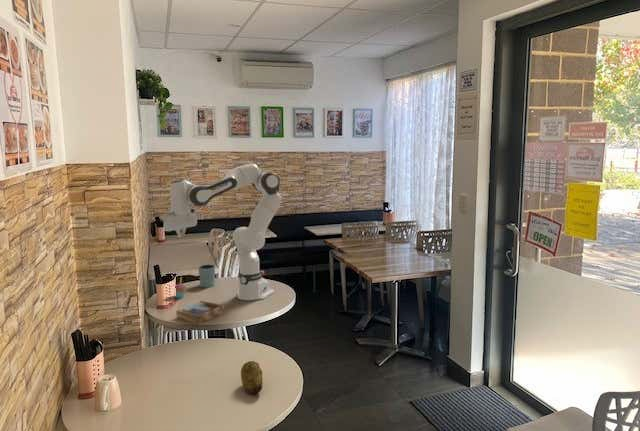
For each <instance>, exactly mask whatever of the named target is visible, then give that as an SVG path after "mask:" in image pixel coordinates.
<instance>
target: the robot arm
mask: <svg viewBox="0 0 640 431" xmlns="http://www.w3.org/2000/svg"><path fill="white" fill-rule="evenodd" d="M280 183H281V179H280V177H279V175H278V174H276V173H275V172H272V171H267V172H262V171H260V168H259V166H258V165H257V164H255V163H247V164H242V165H239V166H236V167H234V168H232V169H230V170H228V171H226V173H225V175H224V177H223V179H221V180H219V181H217V182H214V183H212V184H210V185H207V186H204V185H203V186H200V185H198V184H194V183H192V182H189V181H188V180H186V179H175V180H173V181H172V182H170V185H169V198H170V212H167V213H165V214H164V215H163V230H164V232H172V231H175V232H176V234H177V237H178V238H185V234H186V230H187V229H188V228H193V227H196V226H197V225H198V217H197V214H196V213H197V209H196V208H193V207H190V206H189V203H192V204H193V205H195V206H196V207H197V206H198V207H204V206H207V204H208V203H210V201H212V200H213V199H214V198H215V197H217V196H220V195H221V194H224V193H226V192H228V191H233V190H237V189H240V188H243V187H246V186H247V185H252V186H253V187H254V189H255V190H256V191H258V192H260V193H262V194H261V195H262V196H261V199H260V200H259V201H258V203H257V205H256V207H255V208H254V209H253V211H252V213H251V215H250V222H249V224H248V227H247V226H240V227H237V228H236V229H235V230H234V231H233V233H232V238H233V241H234V244H235V247H236V250H237V256H238V265H239V267H238V268H239V272H238V279H239V281H238V286H237V292H236V296H237V299H239V300H241V301H255V300H256V301H257V300H265V299H266V298H267V297H269V296H271V294H273V293H275V289H273V288H271V287H270V286H271V285H270V282H269V280H267V279H265V278H264V277H263V276H262V275H265V270H260V257H259V255H258V253H257V251H258V250H260V249H262V248H264V245H265V243H266V239H265V236H266V233H267V230H268V227H269V225H270V223H271V222H272V221H273V220H272V219H273V218H274V216H275V215H276V213H277V212H278V209H279V207H280V205H281V202H282V196H281V194H280V193H279V191H280V185H281V184H280Z"/></svg>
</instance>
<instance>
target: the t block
mask: <svg viewBox="0 0 640 431" xmlns="http://www.w3.org/2000/svg"><path fill="white" fill-rule="evenodd" d="M210 310H211V308H207V307H205V303H200V301H199V302H195V303H194V304H191V305H189V306H187V307H184V308H182V309H181V311H184V312H188V313H193V314H197V315H201V314H203V313H206V312H208V311H210Z"/></svg>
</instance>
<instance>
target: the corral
mask: <svg viewBox="0 0 640 431" xmlns="http://www.w3.org/2000/svg"><path fill="white" fill-rule="evenodd" d="M199 302H200V303H205V307H207V308H211V310H210V311H208V312H206V313H203V314H201V315H197V314H193V313H188V312H184V311H182V310H179V309H178V310H176V318H177V319H180V320H184V321H187V322H188V321H189V322H192V323H197V324H202V323H204V322H206V321H209V320H211V319H213V318H215V317H217V316H219V315H221V314H224V313H225V305H223V304H219V303H213V302H209V301H204V300H200V301H199Z"/></svg>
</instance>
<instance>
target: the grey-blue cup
mask: <svg viewBox="0 0 640 431" xmlns="http://www.w3.org/2000/svg"><path fill="white" fill-rule="evenodd" d="M197 270H198V275H199V284H200V285H199V286H200V287H201V288H212V287H214V286H216V285H215V283H216V280H215V279H216V276H215V275H216V265H214V264H201V265H199V266H198V268H197Z"/></svg>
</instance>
